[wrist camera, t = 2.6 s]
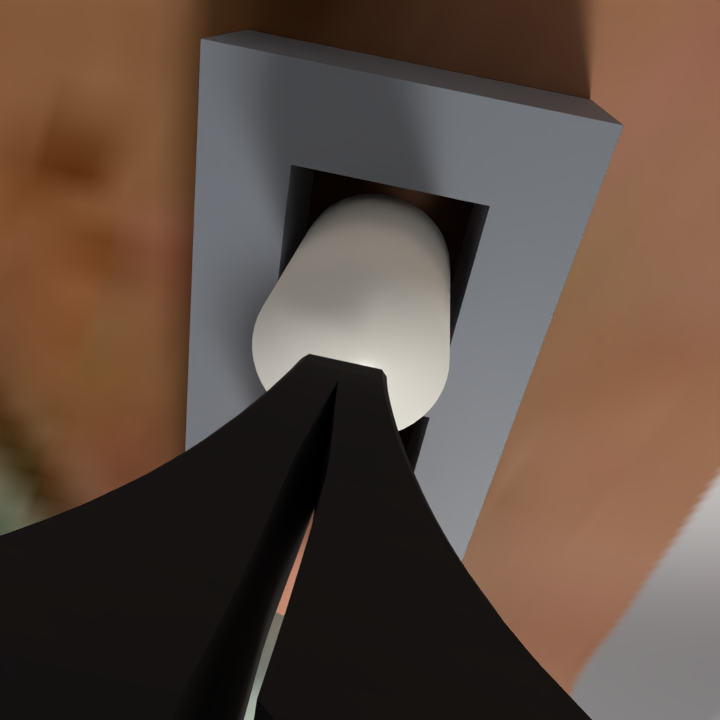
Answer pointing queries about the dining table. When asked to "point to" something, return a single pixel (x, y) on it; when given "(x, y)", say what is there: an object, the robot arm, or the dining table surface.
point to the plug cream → (365, 301)
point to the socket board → (401, 169)
